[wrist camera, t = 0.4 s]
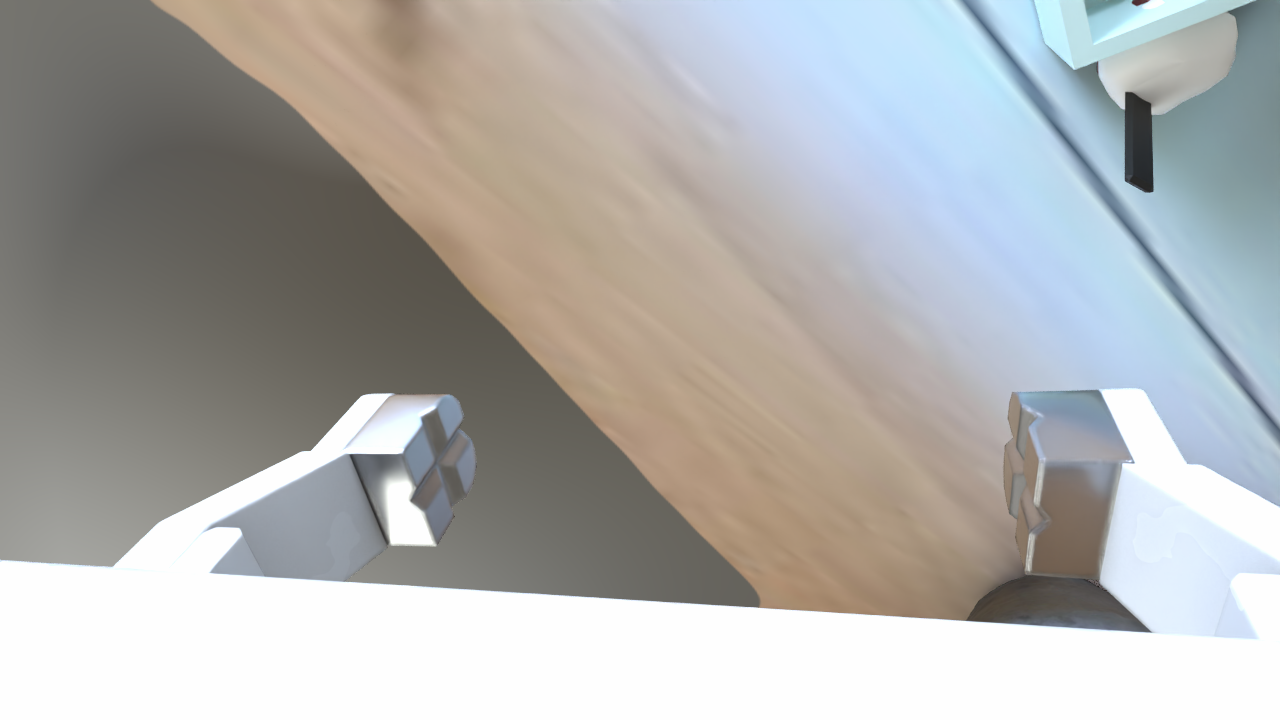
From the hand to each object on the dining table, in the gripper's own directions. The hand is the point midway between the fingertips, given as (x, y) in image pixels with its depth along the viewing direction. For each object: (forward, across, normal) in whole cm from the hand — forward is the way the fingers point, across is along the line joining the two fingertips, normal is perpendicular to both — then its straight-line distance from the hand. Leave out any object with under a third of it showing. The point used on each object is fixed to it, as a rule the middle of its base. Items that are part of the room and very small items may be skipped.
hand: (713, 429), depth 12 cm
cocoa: (+45, -18, +5) cm, 49 cm away
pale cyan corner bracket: (+45, -18, -3) cm, 48 cm away
